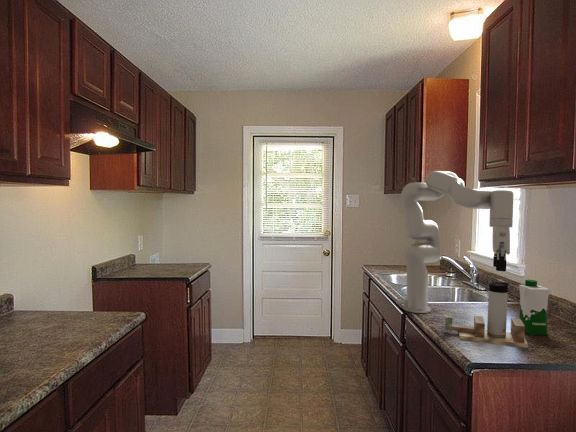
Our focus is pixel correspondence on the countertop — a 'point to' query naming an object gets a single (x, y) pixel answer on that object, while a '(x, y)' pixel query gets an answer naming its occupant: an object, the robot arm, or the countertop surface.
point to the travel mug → (497, 309)
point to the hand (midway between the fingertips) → (499, 268)
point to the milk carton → (534, 307)
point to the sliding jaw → (477, 329)
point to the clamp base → (511, 338)
